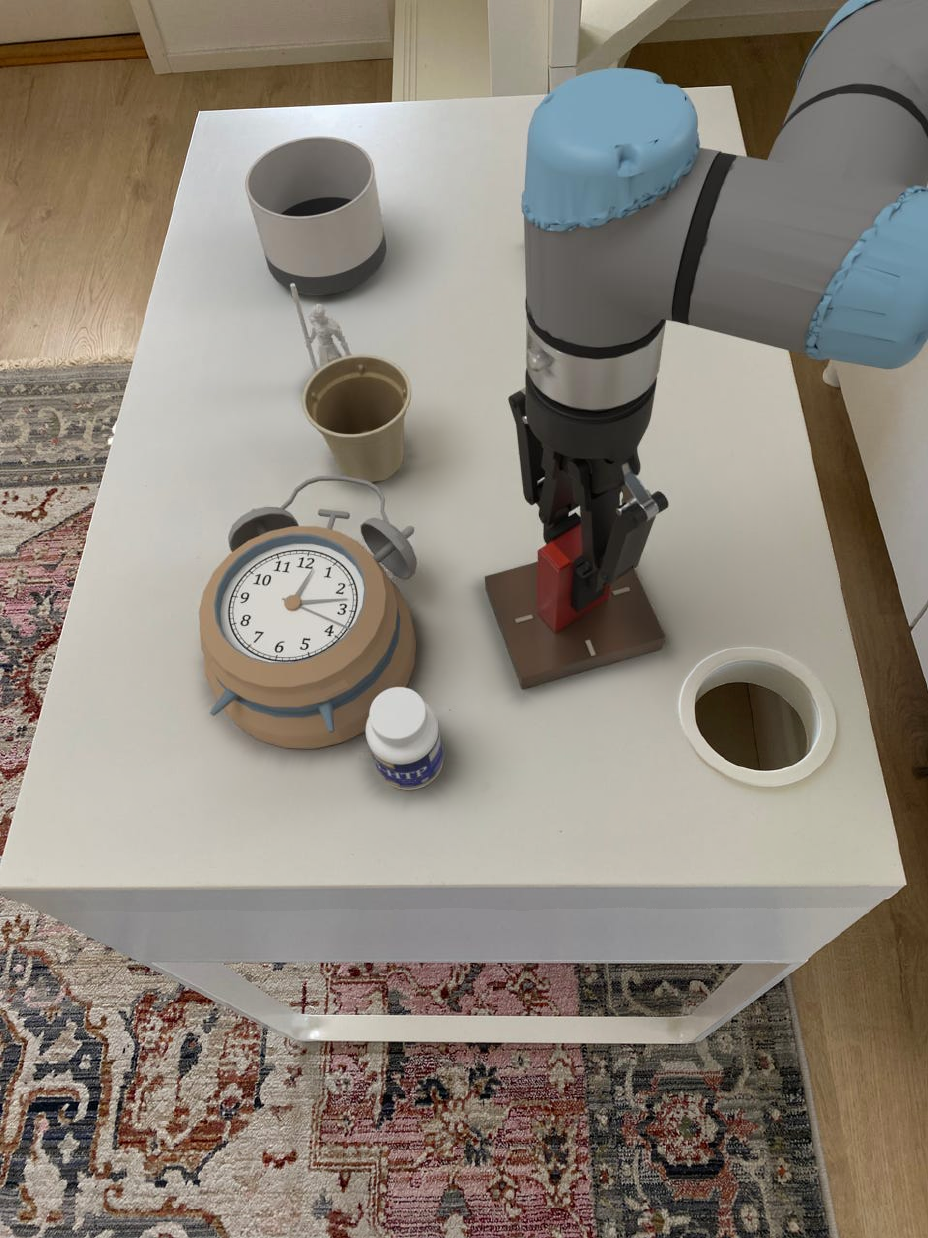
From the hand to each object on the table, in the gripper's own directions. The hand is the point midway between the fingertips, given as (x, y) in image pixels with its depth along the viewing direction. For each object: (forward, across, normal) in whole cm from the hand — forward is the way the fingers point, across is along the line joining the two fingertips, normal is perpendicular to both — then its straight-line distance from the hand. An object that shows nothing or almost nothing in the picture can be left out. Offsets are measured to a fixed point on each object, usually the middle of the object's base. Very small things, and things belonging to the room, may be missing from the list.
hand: (574, 585), depth 74 cm
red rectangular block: (+3, 0, 0) cm, 3 cm away
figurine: (+5, -34, -2) cm, 35 cm away
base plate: (+5, 0, 0) cm, 5 cm away
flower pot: (+5, -25, -4) cm, 26 cm away
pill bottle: (+5, +2, -18) cm, 19 cm away
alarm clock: (+5, -12, -17) cm, 22 cm away
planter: (+5, -50, +7) cm, 51 cm away
